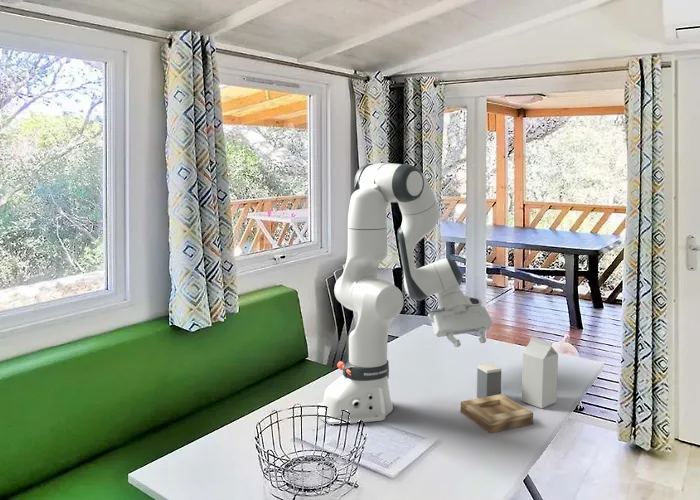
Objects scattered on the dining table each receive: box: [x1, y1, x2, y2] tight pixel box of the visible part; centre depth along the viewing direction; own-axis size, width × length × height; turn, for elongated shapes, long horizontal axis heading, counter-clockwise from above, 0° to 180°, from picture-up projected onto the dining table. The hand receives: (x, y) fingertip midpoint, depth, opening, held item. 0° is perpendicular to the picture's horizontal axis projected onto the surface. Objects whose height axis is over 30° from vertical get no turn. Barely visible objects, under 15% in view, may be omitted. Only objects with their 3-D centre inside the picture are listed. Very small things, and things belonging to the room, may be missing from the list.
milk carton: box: [520, 337, 559, 409], centre depth 168 cm, size 7×7×19 cm
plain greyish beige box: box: [476, 362, 502, 398], centre depth 172 cm, size 5×5×10 cm
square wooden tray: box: [460, 393, 534, 434], centre depth 159 cm, size 14×14×3 cm
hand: (471, 344), depth 180 cm, fingers open, 8 cm apart
